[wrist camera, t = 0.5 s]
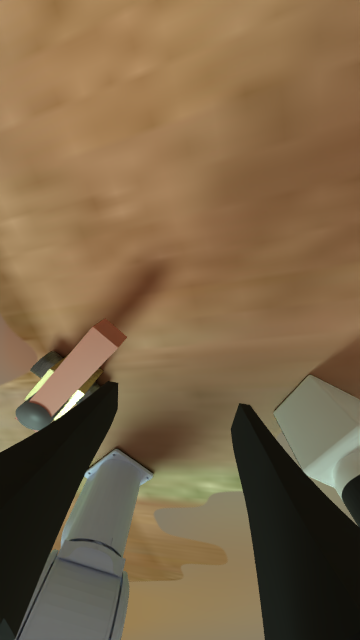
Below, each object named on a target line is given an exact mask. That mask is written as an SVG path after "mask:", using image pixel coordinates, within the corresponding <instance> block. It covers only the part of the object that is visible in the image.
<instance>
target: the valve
mask: <svg viewBox="0 0 360 640" xmlns="http://www.w3.org/2000/svg"><path fill="white" fill-rule="evenodd" d="M68 355H69V354H68ZM68 355H67V356H68ZM67 356H66V357H67ZM66 357H65V358H66ZM65 358H62V357H61V356H60V355H59V354H57V353H56V352H55V351H51V352H49V353H48V354H46V355H45V356H44V357H42V358H41V359H40V360H39V361H38V362H37V363H36V364H35V365H34V366H33V367H32V368H31V370H30V371H32V372H33V373H34V374H36V375H37V376H38V377H40V378H41V380H40V381H39V382H38V383H37V385H36V386H35V387H34V388H33V389H32V391H31V392H30V393H29V394H28V396H27V397H26V398H25V399H24V400H28V399H29V398H30V397H31V396H32V395H33V394H35V393H36V392H37V391H38V390H39V389H40V388H41V387H42V386H43V384H44V383H45V382H46V381H47V380H48V378H49V377H50V376H51V375H52V374H53V373H54V371H55V370H56V369H57V368H58V367H59V366H60V364H61V363H62V362H63V361H64V360H65ZM102 372H103V370H102V369H101V368H100V367H99V368H98V369H97V370H96V371H95V372H94V373H93V374H92V375H91V376H90V378H89V379H88V380H87V381H86V382H85V383H84V384H83V385H82V386H81V387H80V388H79V389H78V390H77V391H76V392H75V393H74V394H73V395H72V396H71V397H70V398H69V399H68V400H67V401H66V405H65V407H64V408H63V409H62V410H61V411H60V413H59V414H58V415H57V416H56V417H55V418H54V420H56V419H58V418H59V417H61V416H62V415H64V414H65V413H66V412H67V411H68V410H69V409H70V408H71V407H72V406H73V405H74V404H75V403H76V404H77V405H78V404H79V403H80V402H82V401H83V400H84V399H86V398H87V397H88V396H90V395H91V394H92V393H94V392H95V391H96V390H97V389H99V388H100V386H99V385H98V384H97V383H95V381H96V380H97V378H98V377H99V376H100V375H101V373H102Z"/></svg>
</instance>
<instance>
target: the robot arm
mask: <svg viewBox="0 0 360 640" xmlns="http://www.w3.org/2000/svg"><path fill="white" fill-rule="evenodd" d="M117 409H118V383H116V382H110V381H108V382H106V383H105V384H104V385H102V386H101V387H100V388H99V389H97V390H96V391H95V392H94V393H92V394H91V395H90V396H88V397H87V398H86V399H84V400H83V401H82V402H80V403H79V404H78V405H76V406H75V407H74V408H72V409H71V410H70V411H68V412H67V413H65V414H64V415H62V416H61V417H59V418H58V419H56V420H55V421H54V422H52V423H50V424H49V425H47V426H46V427H44V428H43V429H41V430H39V431H38V432H36V433H34V434H33V435H31V436H29V437H28V438H26V439H24V440H22V441H21V442H19V443H17V444H15V445H13V446H11V447H10V448H8V449H6V450H4V451H2V452H0V640H121V636H122V631H123V627H124V622H125V617H126V611H127V604H128V598H129V581H128V575H127V572H126V571H123V568H124V564H125V558H123V554H124V550H125V546H126V541H127V537H128V533H129V529H130V525H131V521H132V516H133V512H134V508H135V504H136V500H137V495H138V491H139V487H140V485H142V484H143V483H145V482H147V481H148V480H150V479H151V478H153V473H151V472H150V471H149V470H147V469H146V468H144V467H143V466H141V465H140V464H139V463H137V462H136V461H134V460H133V459H131V458H130V457H129V456H127V455H126V454H124V453H123V452H121V451H120V450H118V449H114V450H113V451H112V452H110V453H109V454H108V455H107V456H105V457H104V458H103V459H101V460H100V461H99V462H97V463H96V464H95V465H93V466H92V467H91V468H89V466H90V464H91V462H92V460H93V458H94V456H95V455H96V453H97V451H98V449H99V447H100V445H101V444H102V442H103V440H104V438H105V436H106V434H107V432H108V430H109V429H110V426H111V424H112V422H113V419H114V417H115V414H116V412H117ZM231 434H232V443H233V450H234V454H235V459H236V463H237V467H238V472H239V476H240V480H241V484H242V489H243V493H244V496H245V501H246V507H247V512H248V517H249V523H250V530H251V537H252V543H253V550H254V557H255V564H256V571H257V578H258V585H259V594H260V602H261V610H262V618H263V627H264V634H265V635H264V636H265V640H360V528H359V527H358V526H357V525H356V524H355V523H354V522H353V521H352V520H351V519H350V518H348V516H346V515H345V514H344V513H343V512H342V511H341V510H340V509H339V508H338V507H337V506H336V505H335V504H334V503H333V502H332V501H331V500H330V499H329V498H328V497H327V496H326V495H325V494H324V493H323V492H322V491H321V490H320V489H319V488H318V487H317V486H316V485H315V484H314V482H313V481H312V480H311V479H310V478H308V476H307V475H306V474H305V473H304V472H303V471H302V470H301V468H300V467H299V466H298V465H297V464H296V463H295V462H294V460H293V459H292V458H291V457H290V456H289V455H288V454H287V452H286V451H285V450H284V449H283V447H282V446H281V445H280V444H279V443H278V441H277V440H276V439H275V438H274V436H273V435H272V434H271V432H270V431H269V430H268V429H267V427H266V426H265V425H264V423H263V422H262V421H261V419H260V418H259V417H258V415H257V414H256V413H255V411H254V410H253V409H252V407H251V406H250V405H246V404H240V403H239V406H238V409H237V412H236V415H235V418H234V421H233V424H232V427H231ZM88 468H89V469H88ZM87 469H88V470H87ZM83 477H86V478H87V481H86V483H85V485H84V487H83V489H82V491H81V493H80V495H79V497H78V499H77V501H76V503H75V506H74V508H73V510H72V512H71V514H70V516H69V518H68V520H67V522H66V524H65V527H64V530H63V533H62V538H61V549H60V551H59V550H56V549H54V550H53V551H52V552H51V550H52V547H53V545H54V542H55V540H56V538H57V535H58V533H59V531H60V528H61V526H62V524H63V522H64V519H65V517H66V515H67V512H68V510H69V508H70V505H71V503H72V501H73V499H74V497H75V494H76V492H77V490H78V488H79V485H80V483H81V481H82V479H83ZM58 551H59V553H58ZM50 552H51V553H50ZM57 554H58V555H57Z"/></svg>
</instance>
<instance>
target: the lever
mask: <svg viewBox="0 0 360 640" xmlns="http://www.w3.org/2000/svg"><path fill="white" fill-rule="evenodd" d="M126 338H127V336H125V335H124V334H123V333H122V332H121V331H120V330H118V329H117V328H116V327H115V326H114V325H113V324H111V323H110V322H109V321H108V320H107V319H106V318H105V319H103V320H102V321H100V322H99V323H97V324H96V325H94V326H93V327H92V328H91V329H90V330H89V331H88V333H87V334H86V335H85V336H84V337H83V338H82V340H81V341H80V342H79V343H78V344H77V346H76V347H75V348H74V349H73V350H72V351H71V353H70V354H69V355H68V356H67V357H66V358H65V360H64V361H63V362H62V363H61V364H60V366H59V367H58V368H57V369H56V370H55V371H54V373H53V374H52V375H51V376H50V377H49V378H48V380H47V381H46V382H45V383H44V384H43V386H42V387H41V388H40V389H39V390H38V391H37V392H36V393H35V394H33V395H32V396H31V397H30V398H29V399H28V400H26V401H25V402H24V403H23V404H22V405H20V406H19V407H18V408H17V409H16V417H15V419H17V420H18V421H19V422H20V423H21V424H22V425H24V426H25V427H27V428H29V429H32V430H34V431H35V432H37V431H38V430H41V429H43V428H44V427H46V426H47V425H49V424H50V423H51V422H52V421H53V419H54V418H55V417H56V416H57V415H58V414H59V413H60V411H61V410H62V409H63V408H64V407H65V405H66V401H67V400H68V399H69V398H70V397H71V396H72V395H73V394H74V393H75V392H76V391H77V390H78V389H79V388H80V387H81V386H82V385H83V384H84V383H85V382H86V381H87V380H88V379H89V378H90V376H91V375H92V374H93V373H94V372H95V371H96V370H97V369H98V368H99V367H100V366H101V365H102V364H103V363H104V362H105V361H106V360H107V359H108V358H109V357H110V356H111V355H112V354H113V353H114V352H115V351H116V350H117V349H118V347H119V346H120V345H121V344H122V343H123V342H124V340H125V339H126Z"/></svg>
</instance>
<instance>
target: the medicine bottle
mask: <svg viewBox="0 0 360 640" xmlns="http://www.w3.org/2000/svg"><path fill="white" fill-rule="evenodd" d="M274 416H275V418H276V420H277V422H278V424H279V426H280V428H281V430H282V432H283V434H284V436H285V438H286V440H287V442H288V444H289V446H290V448H291V449H292V451H293V453H294V455H295V457H296V459H297V461H298V463H299V465H300V467H301V469H302V471H303V472H304V473H305V474H306V475H307V476H309V477H311V478H314V479H316V480H318V481H320V482H323V483H325V484H327V485H329V486H331V487H334V488H335V489H336V491H337V492H338V494H339V496H340V497H341V499H342V501H343V502H344V504H345V506H346V507H347V509H348V510H349V512H350V514H351V515H352V517H353V519H354V520H355V522H356V523H357V525H358V527H359V528H360V400H359V399H358V398H356V397H354V396H352V395H350V394H348V393H346V392H344V391H342V390H340V389H338V388H336V387H334V386H332V385H330V384H328V383H326V382H324V381H322V380H320V379H318V378H316V377H314V376H313V375H308V376H307V377H306V378H305V379H304V381H303V382H302V383H301V384H300V385H299V386H298V387H297V388H296V389H295V390H294V391H293V392H292V393H291V394H290V395H289V396H288V397H287V398H286V400H285V401H284V402H283V403H282V404H281V405H280V406H279V407H278V408H277V409H276V410H275V411H274Z"/></svg>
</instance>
